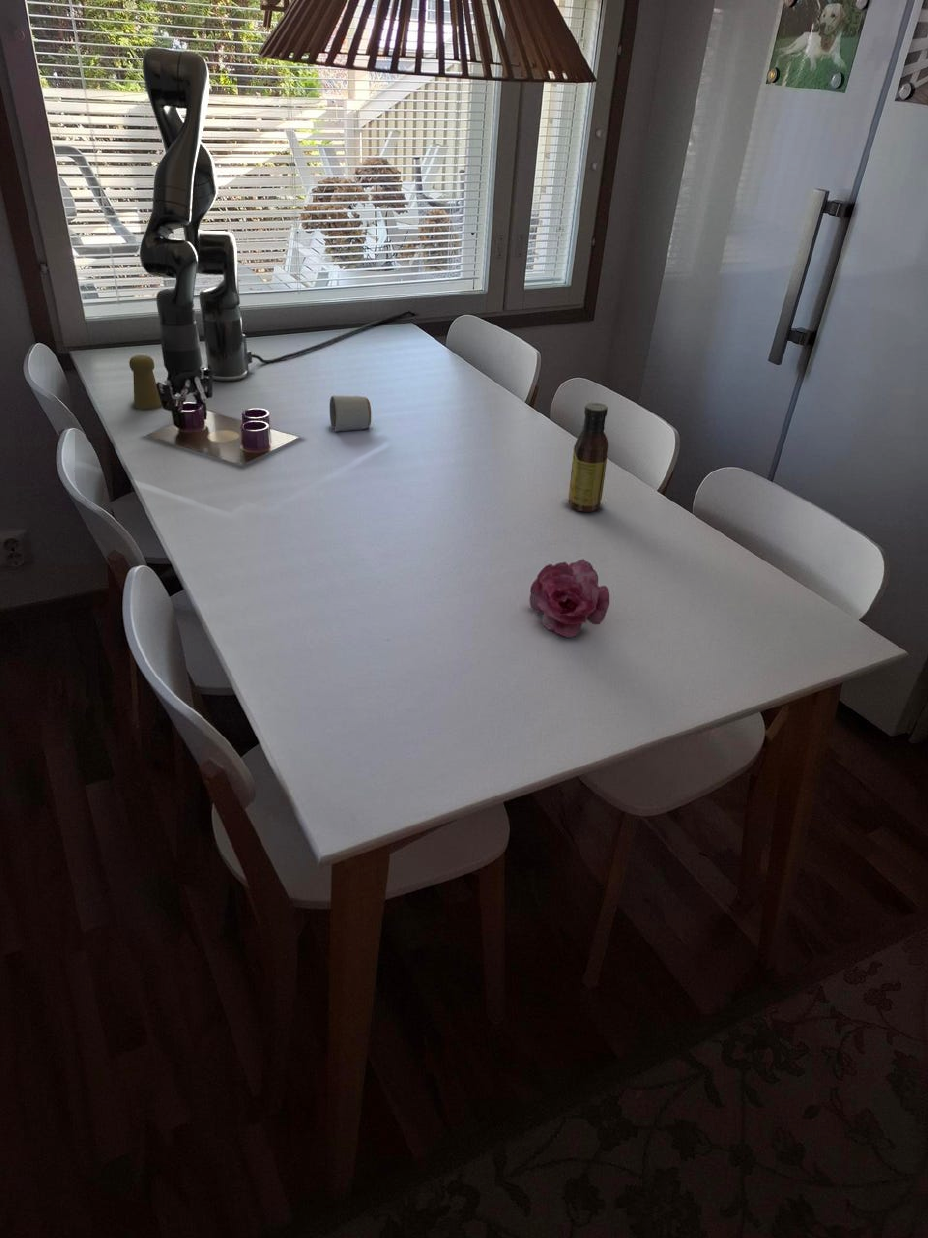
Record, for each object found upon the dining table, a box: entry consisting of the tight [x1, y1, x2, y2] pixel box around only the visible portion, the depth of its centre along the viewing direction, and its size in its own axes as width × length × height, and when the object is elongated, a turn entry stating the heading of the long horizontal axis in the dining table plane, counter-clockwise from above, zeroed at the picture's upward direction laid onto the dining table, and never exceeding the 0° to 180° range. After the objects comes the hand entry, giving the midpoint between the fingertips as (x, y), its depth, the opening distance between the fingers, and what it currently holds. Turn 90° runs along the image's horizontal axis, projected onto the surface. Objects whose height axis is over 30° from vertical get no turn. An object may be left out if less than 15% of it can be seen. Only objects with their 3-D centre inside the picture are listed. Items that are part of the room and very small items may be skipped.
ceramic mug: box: [329, 394, 372, 432], centre depth 187 cm, size 11×8×8 cm
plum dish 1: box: [176, 401, 205, 432], centre depth 182 cm, size 6×6×4 cm
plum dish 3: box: [240, 421, 270, 451], centre depth 175 cm, size 6×6×4 cm
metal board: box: [145, 410, 300, 466], centre depth 180 cm, size 18×26×1 cm
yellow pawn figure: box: [128, 354, 162, 410], centre depth 191 cm, size 6×6×11 cm
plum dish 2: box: [241, 408, 272, 433], centre depth 181 cm, size 6×6×4 cm
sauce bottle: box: [568, 402, 609, 513], centre depth 157 cm, size 6×6×20 cm
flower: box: [529, 559, 610, 639], centre depth 127 cm, size 11×10×10 cm
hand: (191, 423), depth 183 cm, fingers closed on plum dish 1, 5 cm apart
